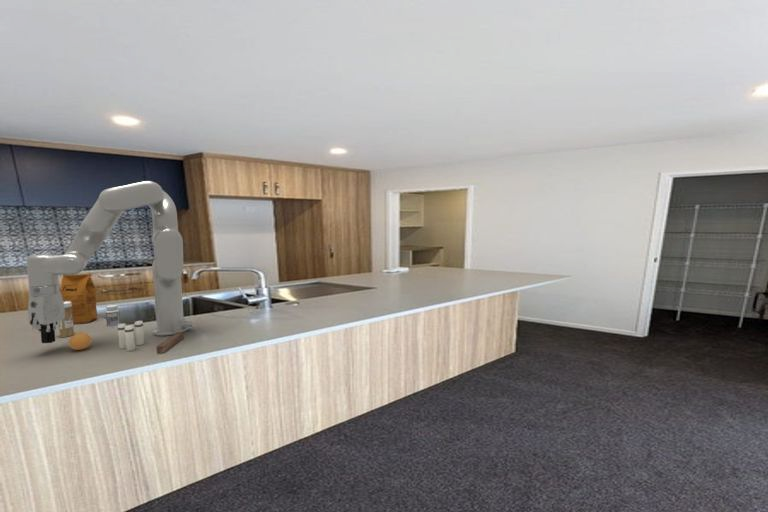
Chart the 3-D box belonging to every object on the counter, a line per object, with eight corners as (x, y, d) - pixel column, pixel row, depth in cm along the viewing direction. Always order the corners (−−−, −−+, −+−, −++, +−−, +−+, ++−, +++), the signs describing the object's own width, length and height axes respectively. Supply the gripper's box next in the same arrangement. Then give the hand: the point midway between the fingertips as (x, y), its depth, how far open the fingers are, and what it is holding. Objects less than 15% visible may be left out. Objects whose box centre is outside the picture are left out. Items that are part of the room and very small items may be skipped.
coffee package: (72, 319, 167) (68, 272, 165) (101, 318, 168) (97, 271, 166) (56, 325, 157) (51, 275, 155) (87, 324, 158) (82, 274, 156)
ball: (96, 346, 130) (94, 330, 129) (84, 352, 124) (82, 335, 123) (78, 347, 129) (76, 330, 129) (65, 353, 123) (63, 336, 123)
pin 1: (136, 348, 127) (135, 325, 126) (132, 351, 125) (130, 327, 124) (129, 348, 127) (127, 325, 126) (124, 351, 124) (122, 327, 123)
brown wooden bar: (183, 338, 138) (183, 331, 138) (163, 353, 122) (162, 346, 122) (178, 338, 138) (177, 331, 138) (157, 353, 122) (156, 346, 122)
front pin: (129, 346, 130) (127, 323, 129) (125, 348, 127) (123, 325, 126) (122, 346, 129) (120, 323, 128) (117, 349, 127) (115, 325, 126)
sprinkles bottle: (73, 336, 142) (70, 302, 140) (58, 338, 139) (54, 304, 138) (75, 333, 146) (72, 300, 144) (60, 335, 143) (57, 302, 142)
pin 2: (146, 342, 133) (144, 320, 132) (142, 345, 130) (140, 322, 130) (138, 343, 133) (136, 320, 132) (134, 345, 130) (132, 322, 129)
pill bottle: (111, 323, 159) (109, 304, 159) (122, 322, 160) (121, 304, 159) (104, 326, 155) (102, 307, 154) (115, 326, 155) (114, 307, 154)
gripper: (38, 294, 116) (42, 349, 118) (72, 286, 131) (76, 335, 133) (12, 294, 115) (17, 350, 117) (50, 286, 130) (53, 336, 132)
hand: (48, 342), depth 125 cm, fingers closed
